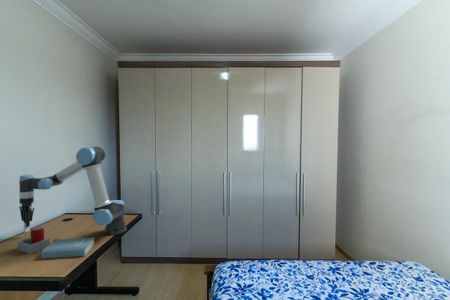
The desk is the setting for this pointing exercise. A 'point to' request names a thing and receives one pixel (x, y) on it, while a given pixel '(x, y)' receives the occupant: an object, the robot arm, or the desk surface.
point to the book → (68, 248)
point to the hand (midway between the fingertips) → (26, 231)
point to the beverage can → (37, 234)
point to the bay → (33, 245)
